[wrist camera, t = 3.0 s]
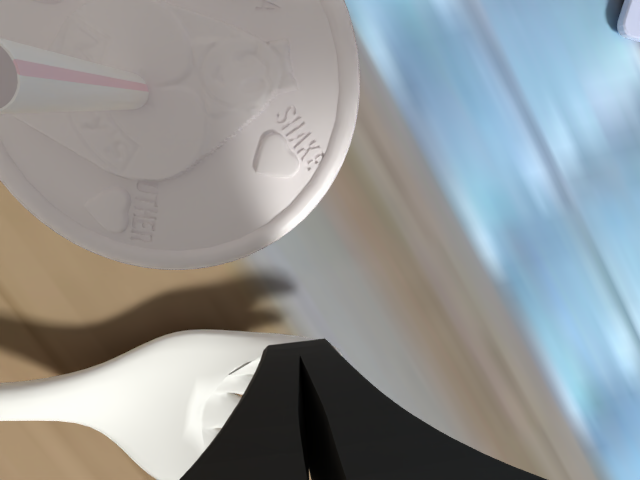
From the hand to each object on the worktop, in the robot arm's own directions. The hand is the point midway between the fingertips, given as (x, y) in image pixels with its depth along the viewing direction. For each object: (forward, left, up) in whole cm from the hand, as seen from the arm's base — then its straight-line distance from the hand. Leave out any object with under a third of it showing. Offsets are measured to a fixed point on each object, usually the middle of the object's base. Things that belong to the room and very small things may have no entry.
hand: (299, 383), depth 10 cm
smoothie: (+3, -5, -9) cm, 11 cm away
